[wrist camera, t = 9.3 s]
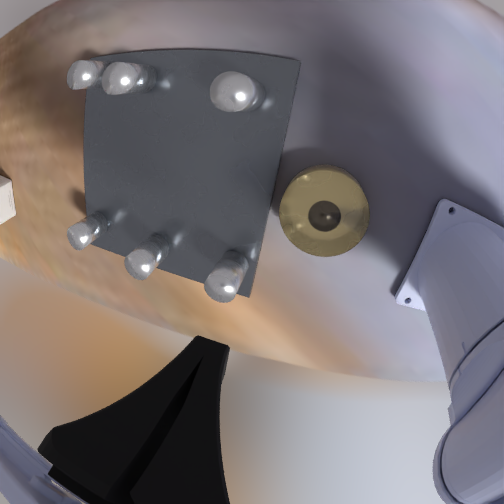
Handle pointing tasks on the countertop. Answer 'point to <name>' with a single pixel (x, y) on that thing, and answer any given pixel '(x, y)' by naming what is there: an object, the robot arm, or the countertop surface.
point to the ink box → (6, 200)
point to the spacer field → (183, 160)
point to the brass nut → (324, 211)
